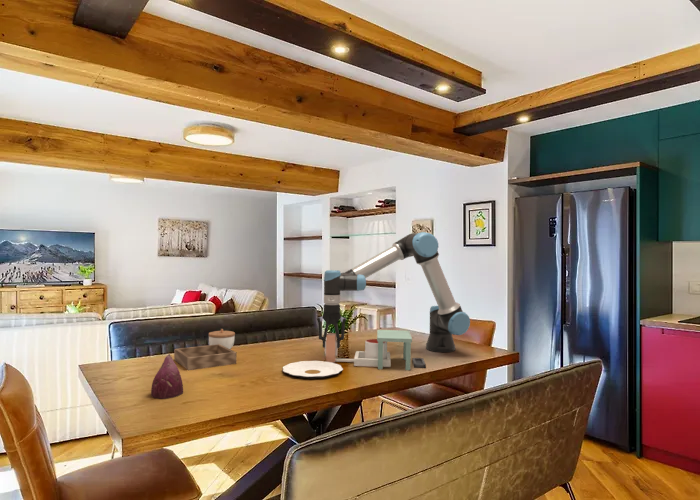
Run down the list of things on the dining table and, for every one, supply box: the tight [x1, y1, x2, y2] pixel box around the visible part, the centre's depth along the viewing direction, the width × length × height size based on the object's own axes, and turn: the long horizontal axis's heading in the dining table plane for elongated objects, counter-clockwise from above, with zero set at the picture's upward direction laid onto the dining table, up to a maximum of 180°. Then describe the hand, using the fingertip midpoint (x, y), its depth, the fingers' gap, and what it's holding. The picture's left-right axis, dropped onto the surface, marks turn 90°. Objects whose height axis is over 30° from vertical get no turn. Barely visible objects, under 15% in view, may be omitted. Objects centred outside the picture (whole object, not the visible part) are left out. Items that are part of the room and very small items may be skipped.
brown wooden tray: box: [173, 344, 237, 371], centre depth 205 cm, size 21×21×5 cm
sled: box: [325, 332, 392, 368], centre depth 208 cm, size 29×16×12 cm, turn 86°
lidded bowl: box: [208, 328, 236, 350], centre depth 227 cm, size 13×13×11 cm
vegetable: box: [150, 353, 184, 400], centre depth 160 cm, size 10×10×15 cm
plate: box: [282, 360, 344, 379], centre depth 191 cm, size 25×25×2 cm
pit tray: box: [411, 357, 427, 369], centre depth 206 cm, size 5×12×2 cm, turn 176°
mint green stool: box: [376, 329, 413, 371], centre depth 207 cm, size 15×21×14 cm
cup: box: [364, 338, 388, 359], centre depth 208 cm, size 10×10×10 cm
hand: (331, 354), depth 209 cm, fingers closed on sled, 4 cm apart
